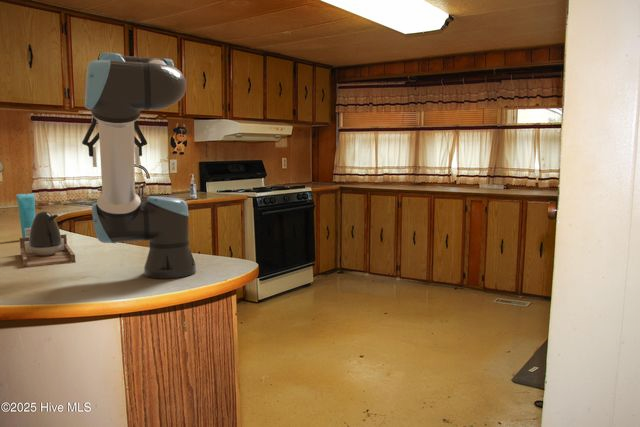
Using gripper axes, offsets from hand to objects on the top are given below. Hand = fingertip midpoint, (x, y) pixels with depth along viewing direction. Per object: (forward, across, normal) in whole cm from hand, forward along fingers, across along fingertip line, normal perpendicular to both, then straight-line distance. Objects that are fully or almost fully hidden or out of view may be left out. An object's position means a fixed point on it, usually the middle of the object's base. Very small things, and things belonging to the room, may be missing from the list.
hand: (116, 166), depth 176 cm
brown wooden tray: (+32, +21, -15) cm, 41 cm away
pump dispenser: (+31, +21, -18) cm, 42 cm away
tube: (+32, +25, -60) cm, 73 cm away
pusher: (+31, +21, -27) cm, 46 cm away
